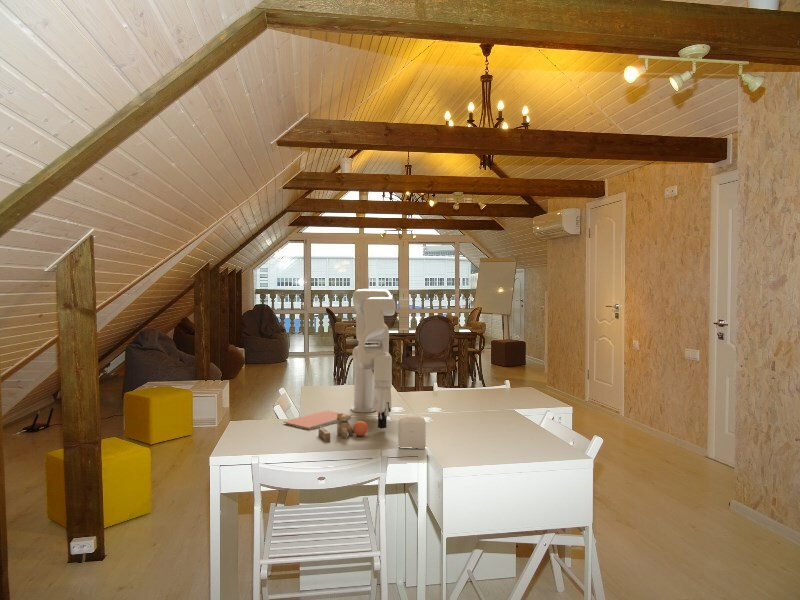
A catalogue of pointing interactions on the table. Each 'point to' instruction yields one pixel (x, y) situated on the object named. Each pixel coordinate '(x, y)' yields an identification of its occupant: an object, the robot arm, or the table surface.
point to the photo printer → (412, 432)
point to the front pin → (349, 428)
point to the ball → (360, 428)
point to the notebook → (315, 420)
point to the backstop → (324, 433)
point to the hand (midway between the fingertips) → (382, 427)
